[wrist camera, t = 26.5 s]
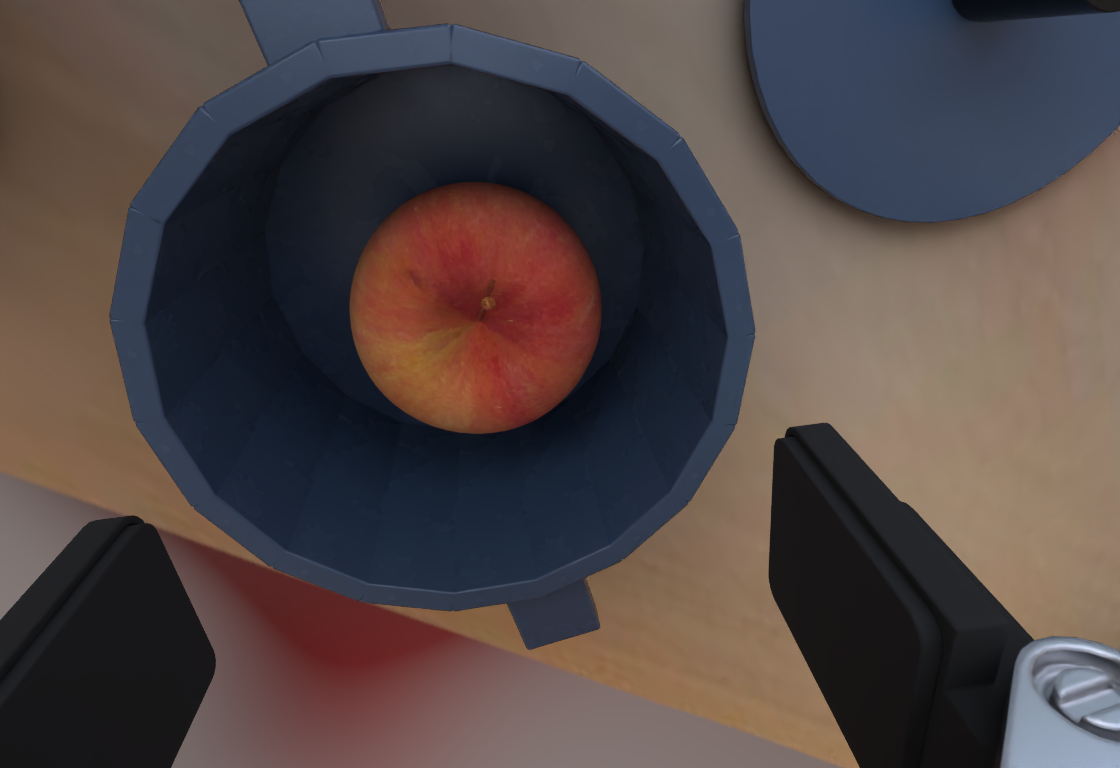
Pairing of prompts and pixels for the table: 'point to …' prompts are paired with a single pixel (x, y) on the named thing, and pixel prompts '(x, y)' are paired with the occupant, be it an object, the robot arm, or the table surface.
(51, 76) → the table surface
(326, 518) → the pot
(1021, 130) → the lid
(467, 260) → the apple
